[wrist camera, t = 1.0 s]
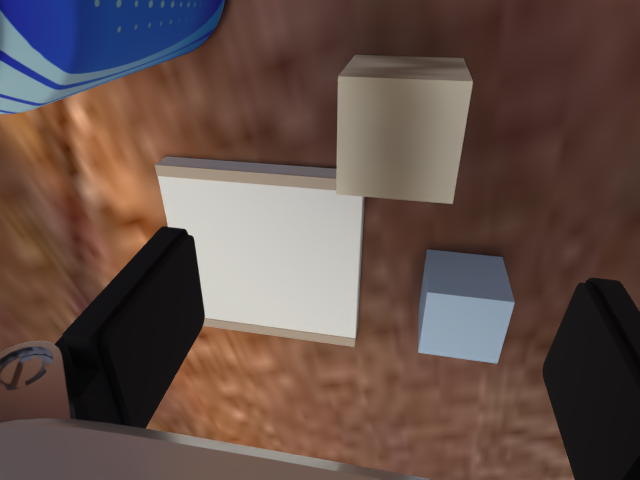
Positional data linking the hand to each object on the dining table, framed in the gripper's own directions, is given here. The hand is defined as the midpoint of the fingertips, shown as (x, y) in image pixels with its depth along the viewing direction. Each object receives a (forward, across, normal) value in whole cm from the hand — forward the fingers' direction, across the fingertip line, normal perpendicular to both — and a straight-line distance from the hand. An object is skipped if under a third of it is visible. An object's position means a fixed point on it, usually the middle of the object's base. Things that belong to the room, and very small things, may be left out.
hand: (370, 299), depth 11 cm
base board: (+18, +8, +12) cm, 23 cm away
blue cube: (+18, -6, +12) cm, 23 cm away
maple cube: (+18, -1, 0) cm, 19 cm away
